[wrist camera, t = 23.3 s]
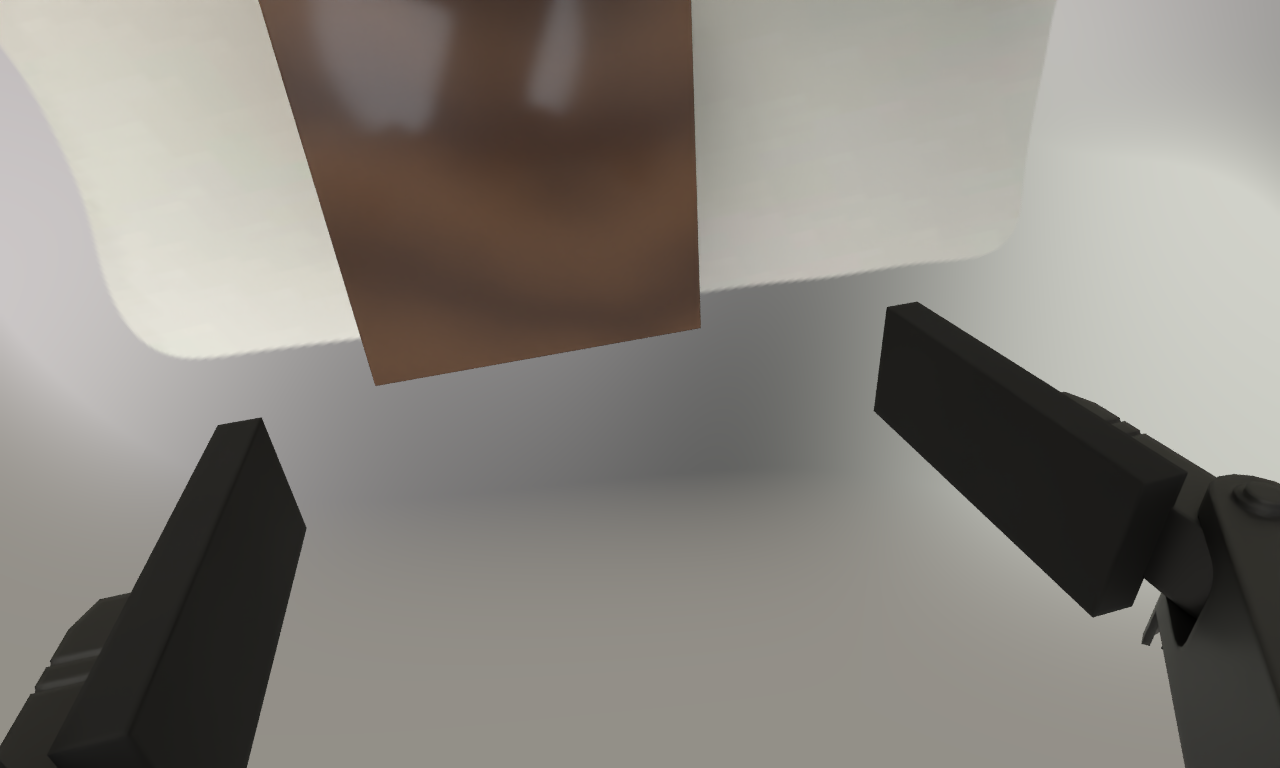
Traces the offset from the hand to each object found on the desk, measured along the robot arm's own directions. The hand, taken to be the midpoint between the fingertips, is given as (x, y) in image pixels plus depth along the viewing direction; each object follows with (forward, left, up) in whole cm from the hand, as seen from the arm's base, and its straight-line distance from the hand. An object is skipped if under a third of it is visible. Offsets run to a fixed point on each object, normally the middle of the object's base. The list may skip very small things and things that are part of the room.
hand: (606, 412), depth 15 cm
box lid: (-5, 0, -12) cm, 13 cm away
